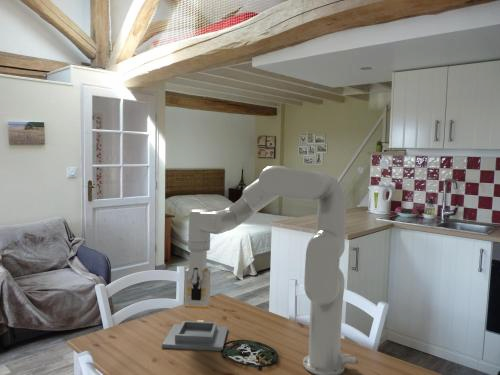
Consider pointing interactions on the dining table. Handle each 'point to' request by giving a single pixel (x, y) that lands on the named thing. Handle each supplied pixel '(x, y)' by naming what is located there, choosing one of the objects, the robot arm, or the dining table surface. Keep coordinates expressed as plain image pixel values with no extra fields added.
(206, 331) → the cradle board
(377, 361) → the dining table surface
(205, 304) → the supplement box
